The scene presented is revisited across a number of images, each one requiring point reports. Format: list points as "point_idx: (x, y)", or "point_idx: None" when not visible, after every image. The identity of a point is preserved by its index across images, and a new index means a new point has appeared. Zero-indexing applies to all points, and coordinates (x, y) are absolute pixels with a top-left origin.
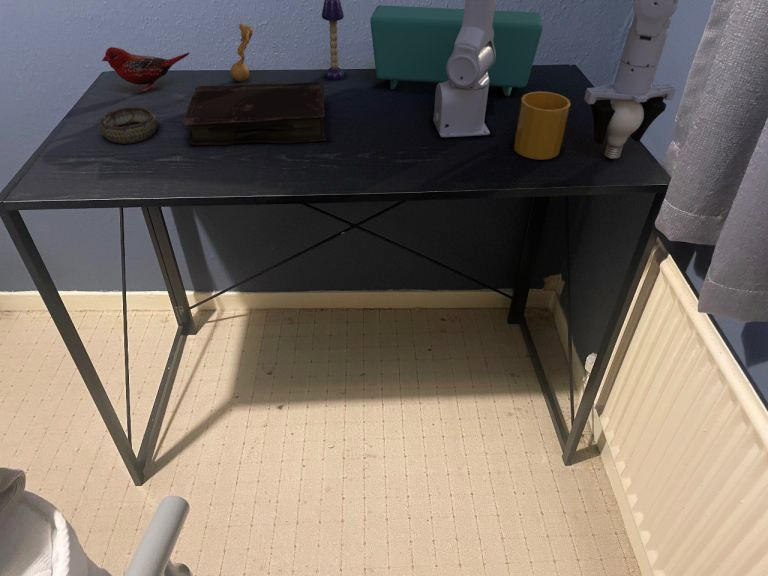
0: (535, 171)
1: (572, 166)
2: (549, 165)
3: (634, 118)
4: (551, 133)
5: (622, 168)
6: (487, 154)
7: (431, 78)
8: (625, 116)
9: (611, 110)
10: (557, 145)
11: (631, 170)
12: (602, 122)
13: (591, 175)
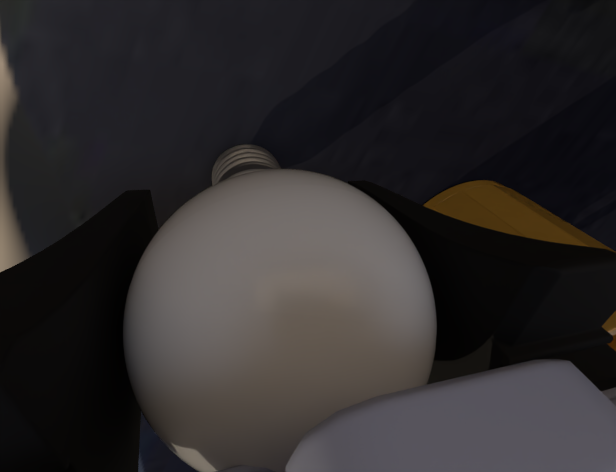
0: (557, 104)
1: (426, 122)
2: (490, 140)
3: (289, 224)
4: (554, 233)
5: (229, 70)
6: (580, 218)
7: None
8: (383, 244)
9: (590, 267)
10: (465, 216)
11: (188, 39)
12: (480, 228)
13: (403, 29)
